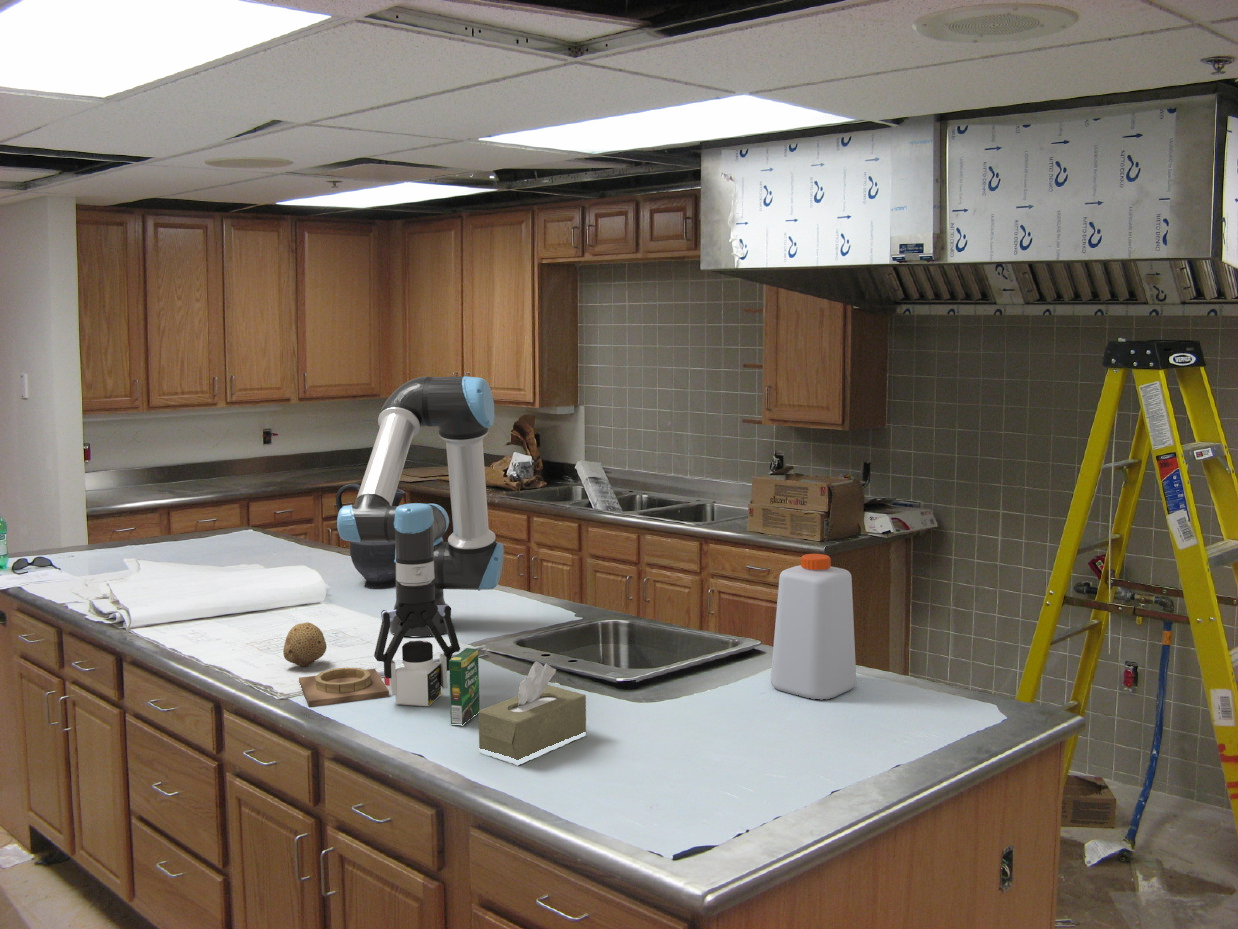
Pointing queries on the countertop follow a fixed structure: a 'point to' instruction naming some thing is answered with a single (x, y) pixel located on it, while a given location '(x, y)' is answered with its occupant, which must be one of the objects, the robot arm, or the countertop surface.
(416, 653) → the medicine bottle
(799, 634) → the plastic bottle
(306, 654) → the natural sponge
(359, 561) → the pitcher
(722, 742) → the countertop surface
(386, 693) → the collar board
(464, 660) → the coffee box
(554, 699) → the tissue box
